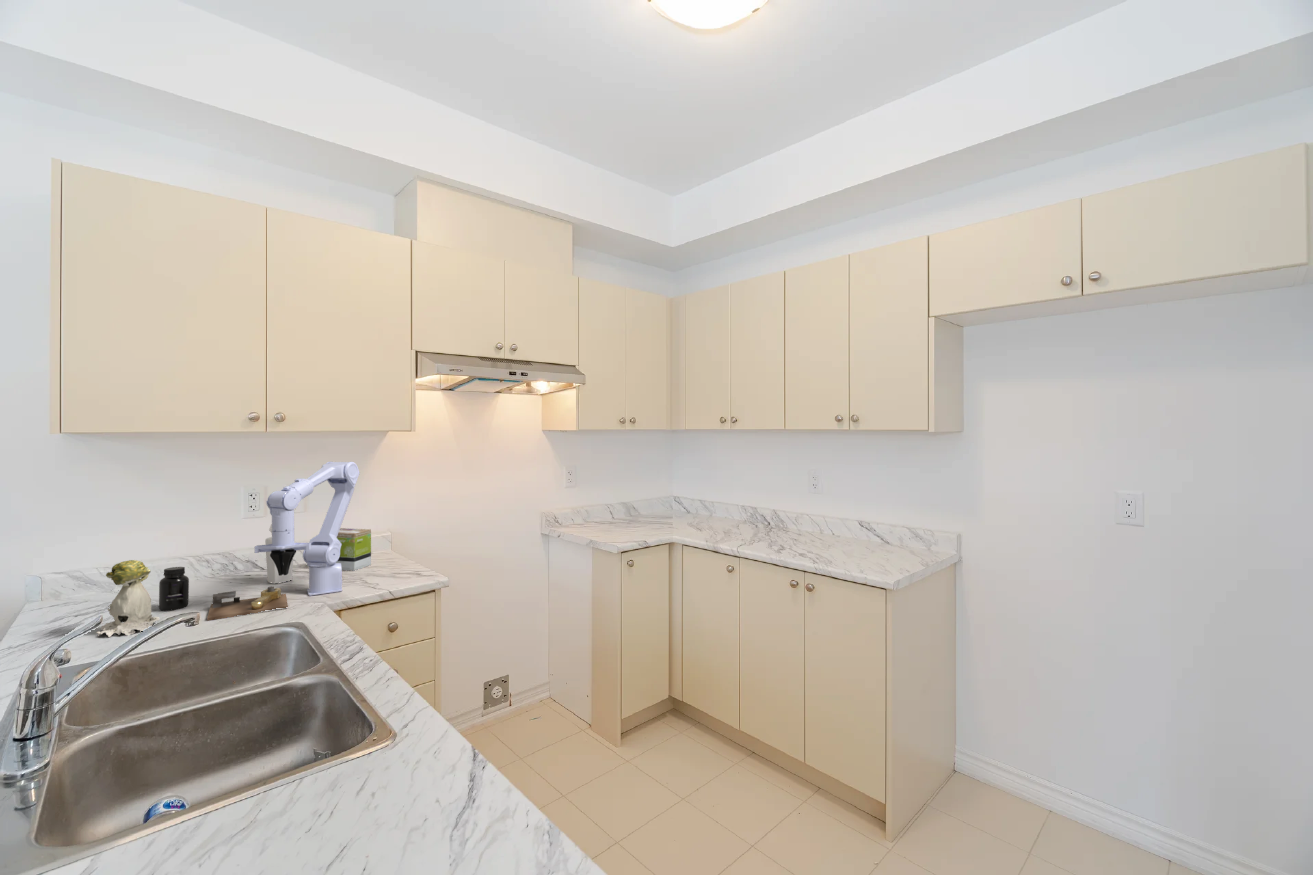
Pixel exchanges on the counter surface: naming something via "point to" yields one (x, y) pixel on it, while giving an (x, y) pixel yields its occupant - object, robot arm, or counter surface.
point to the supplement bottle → (173, 589)
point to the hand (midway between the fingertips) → (283, 574)
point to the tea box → (354, 548)
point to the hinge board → (240, 605)
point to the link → (266, 598)
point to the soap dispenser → (271, 567)
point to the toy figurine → (129, 599)
